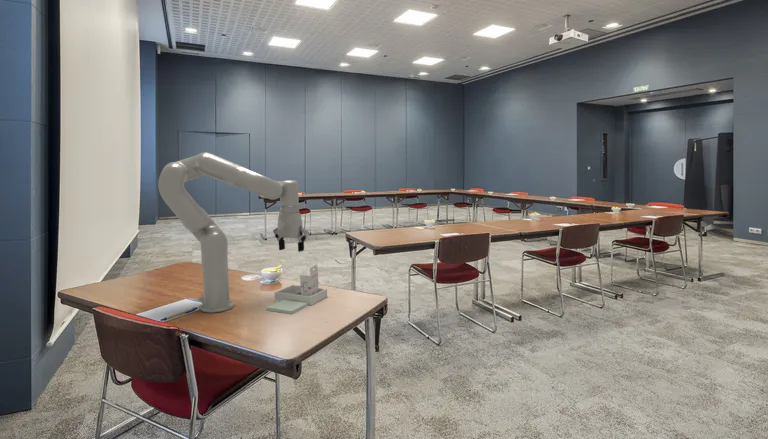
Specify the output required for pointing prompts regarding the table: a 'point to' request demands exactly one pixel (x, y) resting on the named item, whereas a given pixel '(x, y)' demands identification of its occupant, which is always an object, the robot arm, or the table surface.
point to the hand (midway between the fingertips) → (291, 250)
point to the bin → (299, 295)
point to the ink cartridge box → (309, 282)
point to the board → (286, 306)
